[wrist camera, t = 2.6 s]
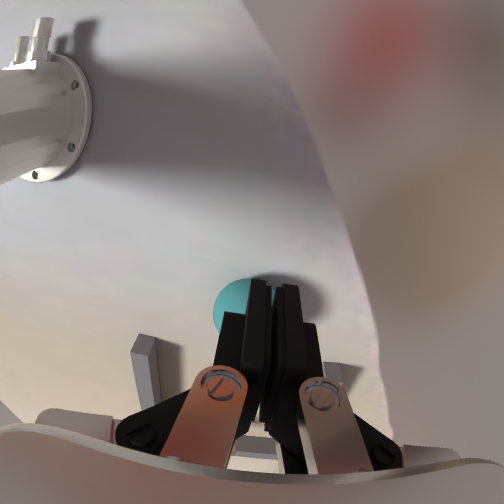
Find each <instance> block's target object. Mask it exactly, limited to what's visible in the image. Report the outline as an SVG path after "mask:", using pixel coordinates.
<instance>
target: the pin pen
mask: <svg viewBox="0 0 504 504" xmlns="http://www.w3.org/2000/svg"><path fill="white" fill-rule="evenodd" d="M130 353H131V359H132V365H133V370H134V376H135V381H136V386H137V391H138V395H139V400H140V404H141V409H142V411H143V410H145V409H147V408H149V407H152V406H154V405H156V404H159V403H161V402H162V398H161V390H160V381H159V371H158V361H157V350H156V338H155V337H151V336H146V335H142V334H139V335H138V337H137V339H136V341H135V343H134V345H133V347H132V349H131V351H130ZM322 368H323V374H324V377H326V378H329V379H332V380H334V381H335V382H337V383H339V384H340V385H341V386H342V385H343V384H344V380H343V376H342V371H341V366H340V363H329V362H323V365H322ZM232 456H241V457H250V458H261V459H275V460H278V459H277V453H276V440H275V439H274V438H262V437H252V436H243V435H242V436H241V437H239V438H238V441H237V449H236V454H235V455H232Z"/></svg>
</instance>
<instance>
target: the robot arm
mask: <svg viewBox="0 0 504 504" xmlns="http://www.w3.org/2000/svg"><path fill="white" fill-rule="evenodd" d="M53 23H54V18H50V17H44V18H38V19H36V20H34V24H33V29H32V34H31V39H32V40H31V46H30V52H29V53H26V51H27V48H28V43H29V36H22V37H18V38H16V43H15V49H14V51H15V53H14V60H13V62H11V63H10V67H9V68H5V69H0V185H1V184H4V183H6V182H8V181H10V180H12V179H14V178H17V177H21V178H23V179H24V180H26V181H30V182H33V183H43V182H47V181H50V180H53V179H55V178H57V177H59V176H61V175H62V174H63V173H65V172H66V171H68V170H69V168H70V167H71V166H72V165H73V164H74V163H75V162H76V160H77V159H78V157H79V156H80V154H81V152H82V150H83V148H84V145H85V143H86V141H87V137H88V134H89V130H90V125H91V118H92V99H91V93H90V88H89V85H88V82H87V79H86V77H85V75H84V73H83V71H82V70H81V68H80V67H79V66H78V65H77V64H76V63H75V62H74V61H73V60H72V59H70V58H68V57H67V56H64V55H60V54H54V53H51V51H47V49H48V43H49V38H50V37H51V33H52V28H53ZM259 404H260V412H259V422H263V423H265V428H264V431H268V432H269V435H270V436H272V437H273V438H274V439H275V440H276V453H277V459H278V465H279V471H280V474H276V473H261V472H249V471H240V470H231V469H227V466H228V463H229V460H230V456H231V453H232V450H233V447H234V443H235V440H236V439H238V438H239V437H241V436H242V435H244V434H246V433H247V432H248V431H249V427H250V424H251V421H254V420H255V417H256V414H257V410H258V407H259ZM0 504H504V466H503V465H502V464H499V463H497V462H494V461H491V460H486V459H480V458H460V456H459V455H458V453H457V452H455V451H454V450H453V449H449V448H437V447H424V446H414V445H413V446H412V445H403V446H402V447H398V445H397V444H395V443H394V442H393V441H392V440H391V439H389V438H388V437H386V436H385V435H383V434H382V433H381V432H379V431H378V430H376V429H375V428H374V427H372V426H371V425H369V424H368V423H367V422H365V421H364V420H363V419H361V418H360V417H358V416H357V415H356V414H354V413H353V410H352V407H351V405H350V402H349V399H348V397H347V394H346V392H345V390H344V388H343V387H342V386H341V385H340V384H339V383H337V382H335V381H334V380H332V379H329V378H326V377H324V374H323V368H322V361H321V355H320V348H319V342H318V336H317V330H316V326H315V324H314V323H306V322H303V318H302V310H301V302H300V294H299V287H298V286H297V285H290V284H282V287H276V290H275V295H274V299H273V303H272V286H269V285H266V281H263V280H257V279H251V283H250V288H249V294H248V300H247V306H246V311H245V314H240V313H234V312H228V311H225V312H224V316H223V320H222V325H221V330H220V335H219V340H218V345H217V349H216V354H215V359H214V364H213V366H210V367H207V368H205V369H203V370H202V371H201V372H199V374H198V375H197V377H196V378H195V380H194V383H193V385H192V387H191V389H189V390H187V391H185V392H183V393H181V394H178V395H176V396H174V397H172V398H170V399H168V400H165V401H163V402H161V403H159V404H156V405H154V406H152V407H149V408H147V409H145V410H143V411H140V412H138V413H135V414H133V415H131V416H128V417H127V418H125V419H123V420H117V419H113V417H112V416H106V415H97V414H89V413H82V412H75V411H68V410H62V409H47V410H44V411H43V412H42V413H40V414H39V415H38V417H37V419H36V421H35V424H34V423H18V424H10V425H6V426H3V427H1V428H0Z"/></svg>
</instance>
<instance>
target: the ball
mask: <svg viewBox="0 0 504 504" xmlns="http://www.w3.org/2000/svg"><path fill="white" fill-rule="evenodd" d="M250 283H251V279H241V280H237V281H234V282H232V283H230V284H229V285H227V286H226V287H225V288H224V289H223V290H222V291H221V292H220V294H219V295H218V297H217V299H216V301H215V304H214V309H213V318H214V323H215V326H216V328H217V330H218V332H219V333H220V330H221V325H222V320H223V316H224V312H225V311H228V312H234V313H240V314H245V311H246V306H247V300H248V294H249V288H250ZM266 285H268V284H266ZM274 295H275V290H274V289H273V288H272V303H273V299H274Z"/></svg>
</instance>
